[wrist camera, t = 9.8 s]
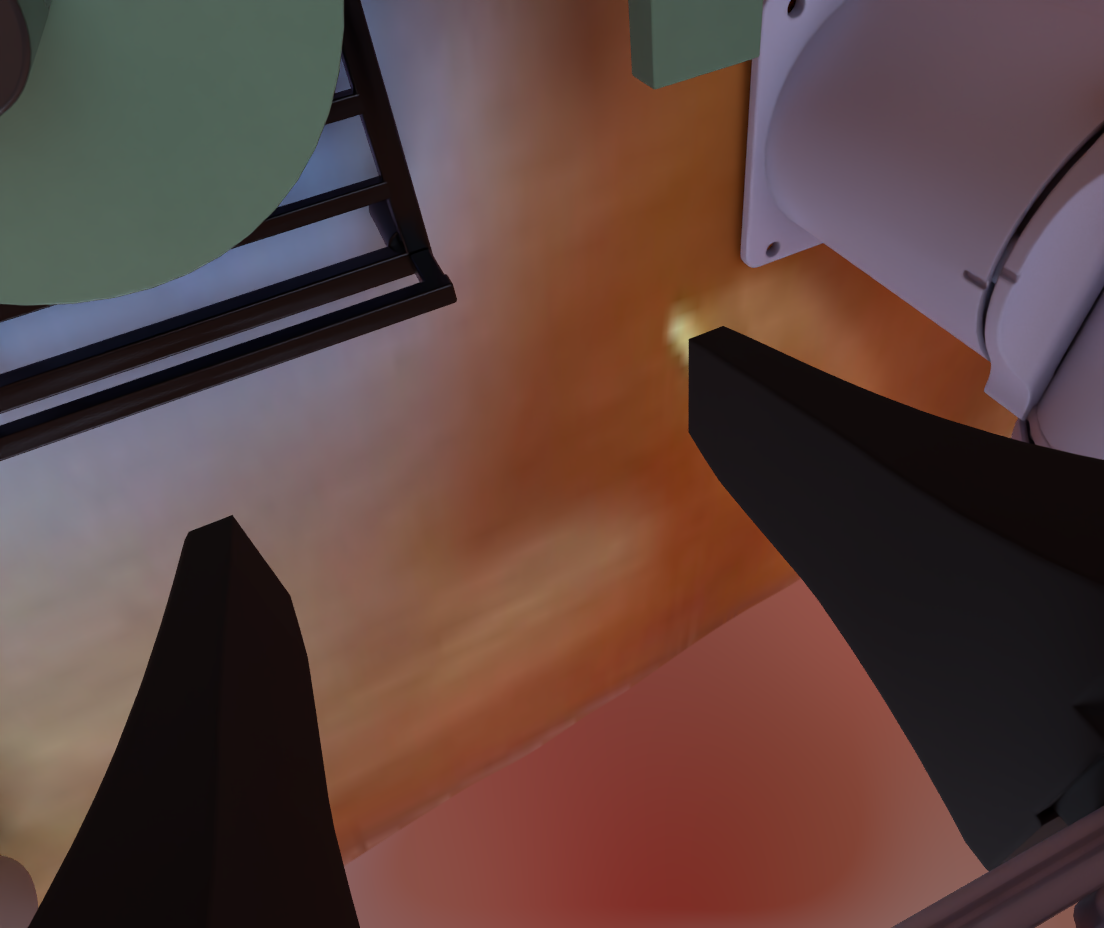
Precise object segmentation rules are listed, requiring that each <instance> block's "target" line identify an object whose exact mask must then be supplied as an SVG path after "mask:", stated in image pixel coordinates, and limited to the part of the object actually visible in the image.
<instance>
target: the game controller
mask: <svg viewBox="0 0 1104 928" xmlns="http://www.w3.org/2000/svg"><path fill="white" fill-rule="evenodd" d="M37 910H38V902H37V894H36V890H35V886H34V883H33V881H32V878H31V876H30V875H29V873H28V871H27V870H26V869H25V868H24V866H23V865H21V864H20V863H19V862H18V861H16V860H14V859H12V858H9V857H5V856H1V855H0V928H28V926H29V924H30V922H31V921H32V919H33V917H34V915H35V913H36V912H37Z"/></svg>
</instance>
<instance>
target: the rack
mask: <svg viewBox="0 0 1104 928" xmlns="http://www.w3.org/2000/svg"><path fill="white" fill-rule="evenodd" d="M341 58H342V61H343V65H344V68H345V71H346V74H347V77H348V80H349V83H350V87H351V89H348V90H344V91H341V92H338V93H334V96H333V100H332V104H331V108H330V112H329V115H328V118H327V120H326V123H325V125H326V124H330V123H333V122H336V121H340V120H343V119H346V118H350V117H353V116H357V115H360V118H361V121H362V124H363V128H364V131H365V134H366V137H367V140H368V143H369V146H370V150H371V153H372V156H373V159H374V162H375V165H376V168H377V172H378V175H379V176H377V177H374V178H371V179H368V180H365V181H361V182H358V183H355V184H352V185H349V186H345V187H342V188H339V189H336V190H333V191H329V192H326V193H323V194H320V195H317V196H313V197H310V198H307V199H304V200H301V201H297V202H294V203H291V204H288V205H284V206H281V207H278V208H276V209H275V210H274V211H273V212H272V213H271V214H270V215H269V216H268V217H267V218H266V219H265V220H264V221H263V222H262V223H261V224H260V225H259V226H258V227H257V228H256V229H255V230H254V231H253V232H252V233H251V234H250V235H249V236H247V237H246V238H245V239H243V240H242V241H241V242H239V243H238V244H236V245H235V246H234V247H232V248H231V249H233V248H236V247H239V246H242V245H245V244H249V243H252V242H255V241H258V240H261V239H264V238H267V237H271V236H274V235H277V234H280V233H283V232H286V231H289V230H293V229H296V228H299V227H302V226H305V225H308V224H311V223H315V222H318V221H321V220H324V219H327V218H330V217H333V216H337V215H340V214H343V213H346V212H349V211H352V210H355V209H359V208H362V207H365V206H368V205H369V212H370V215H371V217H372V219H373V221H374V223H375V225H376V227H377V229H378V230H379V232H380V234H381V236H382V238H383V240H384V242H385V244H386V246H387V247H385V248H382V249H379V250H376V251H373V252H370V253H367V254H364V255H361V256H358V257H355V258H352V259H349V260H346V261H343V262H340V263H337V264H334V265H330V266H327V267H324V268H321V269H318V270H315V271H312V272H309V273H306V274H303V275H300V276H297V277H294V278H291V279H288V280H285V281H282V282H279V283H276V284H273V285H270V286H267V287H264V288H261V289H258V290H255V291H252V292H249V293H246V294H242V295H239V296H236V297H233V298H230V299H227V300H224V301H221V302H218V303H215V304H212V305H209V306H206V307H203V308H200V309H197V310H194V311H191V312H188V313H185V314H182V315H179V316H176V317H173V318H170V319H167V320H164V321H161V322H158V323H155V324H151V325H148V326H145V327H142V328H139V329H136V330H133V331H130V332H127V333H124V334H121V335H118V336H115V337H112V338H109V339H106V340H103V341H100V342H97V343H94V344H91V345H88V346H85V347H82V348H79V349H76V350H73V351H70V352H67V353H63V354H60V355H57V356H54V357H51V358H48V359H45V360H42V361H39V362H36V363H33V364H30V365H27V366H24V367H21V368H18V369H15V370H12V371H9V372H6V373H3V374H0V414H1V413H4V412H7V411H10V410H13V409H16V408H19V407H22V406H25V405H28V404H31V403H33V402H36V401H39V400H42V399H45V398H48V397H51V396H54V395H57V394H60V393H63V392H66V391H69V390H72V389H75V388H78V387H81V386H84V385H87V384H90V383H93V382H96V381H99V380H101V379H104V378H107V377H110V376H113V375H116V374H119V373H122V372H125V371H128V370H131V369H134V368H137V367H140V366H143V365H146V364H149V363H152V362H155V361H158V360H161V359H164V358H167V357H169V356H172V355H175V354H178V353H181V352H184V351H187V350H190V349H193V348H196V347H199V346H202V345H205V344H208V343H211V342H214V341H217V340H220V339H223V338H226V337H229V336H232V335H235V334H237V333H240V332H243V331H246V330H249V329H252V328H255V327H258V326H261V325H264V324H267V323H270V322H273V321H276V320H279V319H282V318H285V317H288V316H291V315H294V314H297V313H300V312H302V311H305V310H308V309H311V308H314V307H317V306H320V305H323V304H326V303H329V302H332V301H335V300H338V299H341V298H344V297H347V296H350V295H353V294H356V293H359V292H362V291H365V290H368V289H370V288H373V287H376V286H379V285H382V284H385V283H388V282H391V281H394V280H397V279H400V278H403V277H406V276H409V275H412V274H416V276H417V278H418V280H419V282H420V283H417V284H414V285H411V286H408V287H405V288H403V289H400V290H397V291H394V292H391V293H388V294H385V295H382V296H379V297H376V298H373V299H370V300H367V301H364V302H361V303H359V304H356V305H353V306H350V307H347V308H344V309H341V310H338V311H335V312H332V313H329V314H326V315H323V316H320V317H317V318H315V319H312V320H309V321H306V322H303V323H300V324H297V325H294V326H291V327H288V328H285V329H282V330H279V331H276V332H273V333H271V334H268V335H265V336H262V337H259V338H256V339H253V340H250V341H247V342H244V343H241V344H238V345H235V346H232V347H229V348H227V349H224V350H221V351H218V352H215V353H212V354H209V355H206V356H203V357H200V358H197V359H194V360H191V361H188V362H185V363H183V364H180V365H177V366H174V367H171V368H168V369H165V370H162V371H159V372H156V373H153V374H150V375H147V376H144V377H141V378H139V379H136V380H133V381H130V382H127V383H124V384H121V385H118V386H115V387H112V388H109V389H106V390H103V391H100V392H97V393H95V394H92V395H89V396H86V397H83V398H80V399H77V400H74V401H71V402H68V403H65V404H62V405H59V406H56V407H53V408H51V409H48V410H45V411H42V412H39V413H36V414H33V415H30V416H27V417H24V418H21V419H18V420H15V421H12V422H9V423H7V424H4V425H1V426H0V461H2V460H5V459H8V458H11V457H14V456H16V455H19V454H22V453H25V452H28V451H31V450H34V449H36V448H39V447H42V446H45V445H48V444H51V443H54V442H57V441H59V440H62V439H65V438H68V437H71V436H74V435H77V434H80V433H82V432H85V431H88V430H91V429H94V428H97V427H100V426H102V425H105V424H108V423H111V422H114V421H117V420H120V419H123V418H125V417H128V416H131V415H134V414H137V413H140V412H143V411H145V410H148V409H151V408H154V407H157V406H160V405H163V404H166V403H168V402H171V401H174V400H177V399H180V398H183V397H186V396H188V395H191V394H194V393H197V392H200V391H203V390H206V389H209V388H211V387H214V386H217V385H220V384H223V383H226V382H229V381H232V380H234V379H237V378H240V377H243V376H246V375H249V374H252V373H254V372H257V371H260V370H263V369H266V368H269V367H272V366H275V365H277V364H280V363H283V362H286V361H289V360H292V359H295V358H297V357H300V356H303V355H306V354H309V353H312V352H315V351H318V350H320V349H323V348H326V347H329V346H332V345H335V344H338V343H340V342H343V341H346V340H349V339H352V338H355V337H358V336H361V335H363V334H366V333H369V332H372V331H375V330H378V329H381V328H384V327H386V326H389V325H392V324H395V323H398V322H401V321H404V320H406V319H409V318H412V317H415V316H418V315H421V314H424V313H427V312H429V311H432V310H435V309H438V308H441V307H444V306H447V305H449V304H452V303H455V302H457V298H456V294H455V290H454V287H453V284H452V282H451V280H450V279H449V277H448V276H447V275H446V274H444V273H443V271H442V270H441V268H440V266H439V265H438V263H437V261H436V260H435V258H434V256H433V254H432V250H431V247H430V243H429V240H428V236H427V232H426V229H425V225H424V222H423V218H422V215H421V211H420V208H419V204H418V201H417V197H416V194H415V190H414V187H413V183H412V180H411V176H410V173H409V169H408V166H407V162H406V159H405V155H404V152H403V148H402V145H401V141H400V138H399V134H398V131H397V127H396V124H395V120H394V117H393V113H392V110H391V106H390V103H389V99H388V96H387V92H386V89H385V85H384V82H383V78H382V75H381V71H380V68H379V64H378V61H377V57H376V54H375V50H374V47H373V43H372V39H371V36H370V32H369V29H368V25H367V22H366V18H365V15H364V11H363V8H362V4H361V1H360V0H344V34H343V43H342V52H341ZM54 305H57V304H53V305H11V304H0V322H3V321H7V320H10V319H13V318H16V317H19V316H22V315H25V314H29V313H32V312H35V311H38V310H41V309H44V308H47V307H51V306H54Z"/></svg>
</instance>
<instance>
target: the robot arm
mask: <svg viewBox="0 0 1104 928" xmlns="http://www.w3.org/2000/svg"><path fill="white" fill-rule="evenodd" d="M790 1H791V0H763V11H762V26H761V41H760V55H759V57H757V58H754V59H752V68H751V85H750V102H749V118H748V135H747V152H746V169H745V186H744V203H743V220H742V236H741V253H740V254H741V259H742V261H743V262H744V263H745V264H747V265H748V266H749V267H752V268H755V267H759V266H762V265H765V264H767V263H770V262H773V261H775V260H778V259H781V258H784V257H786V256H789V255H792V254H794V253H797V252H800V251H803V250H805V249H808V248H811V247H814V246H816V245H819V244H822V243H824V244H826V245H827V246H828V247H830V248H831V249H833V250H834V251H835V252H837V253H838V254H840V255H841V256H842V257H844V258H845V259H847V260H848V261H849V262H851V263H852V264H854V265H855V266H856V267H858V268H859V269H861V270H862V271H863V272H865V273H866V274H868V275H869V276H871V277H872V278H873V279H875V280H876V281H878V282H879V283H880V284H882V285H883V286H885V287H886V288H887V289H889V290H890V291H892V292H893V293H894V294H896V295H897V296H899V297H900V298H901V299H903V300H904V301H906V302H907V303H908V304H910V305H911V306H913V307H914V308H915V309H917V310H918V311H920V312H921V313H922V314H924V315H925V316H927V317H928V318H929V319H931V320H932V321H934V322H935V323H936V324H938V325H939V326H941V327H942V328H943V329H945V330H946V331H948V332H949V333H950V334H952V335H953V336H955V337H956V338H958V339H959V340H960V341H962V342H963V343H965V344H966V345H967V346H969V347H970V348H972V349H973V350H974V351H976V352H977V353H979V354H980V355H981V356H983V357H984V358H986V359H987V360H988V361H990V362H991V372H990V376H989V379H988V381H987V383H986V386H985V389H984V392H985V393H986V394H988V395H989V396H990V397H992V398H993V399H994V400H996V401H997V402H998V403H1000V404H1001V405H1002V406H1004V407H1005V408H1006V409H1008V410H1009V411H1010V412H1012V413H1013V414H1014V415H1016V416H1017V417H1018V420H1017V421H1016V423H1015V426H1014V429H1013V433H1012V437H1011V438H1007V437H1004V436H1000V435H996V434H993V433H990V432H986V431H983V430H980V429H976V428H973V427H970V426H967V425H963V424H960V423H957V422H953V421H950V420H947V419H944V418H941V417H938V416H935V415H932V414H929V413H926V412H923V411H920V410H918V409H915V408H912V407H910V406H907V405H904V404H902V403H899V402H896V401H894V400H891V399H889V398H886V397H883V396H881V395H878V394H876V393H873V392H871V391H868V390H866V389H863V388H861V387H858V386H856V385H854V384H851V383H849V382H847V381H844V380H842V379H840V378H837V377H835V376H833V375H830V374H828V373H826V372H824V371H821V370H819V369H817V368H815V367H812V366H810V365H808V364H806V363H804V362H801V361H799V360H797V359H795V358H793V357H791V356H788V355H786V354H784V353H782V352H780V351H778V350H775V349H773V348H771V347H769V346H767V345H765V344H762V343H760V342H758V341H756V340H754V339H752V338H749V337H747V336H745V335H743V334H740V333H738V332H736V331H734V330H731V329H729V328H727V327H724V326H722V327H719V328H717V329H714V330H712V331H709V332H706V333H704V334H701V335H699V336H696V337H693V338H691V339H689V434H690V435H691V437H692V439H693V440H694V442H695V443H696V445H697V447H698V448H699V450H700V452H701V453H702V455H703V456H704V458H705V460H706V461H707V463H708V464H709V466H710V467H711V469H712V470H713V472H714V473H715V475H716V476H717V478H718V480H719V481H720V482H721V484H722V485H723V486H724V487H725V488H726V490H727V491H728V492H729V493H730V495H731V496H732V497H733V498H734V499H735V501H736V502H737V503H738V504H739V505H740V507H741V508H742V509H743V510H744V511H745V513H746V514H747V515H748V516H749V517H750V518H751V520H752V521H753V522H754V523H755V524H756V526H757V527H758V528H759V529H760V530H761V531H762V533H763V534H764V535H765V536H766V537H767V539H768V540H769V541H770V542H771V543H772V544H773V546H774V547H775V548H776V549H777V550H778V551H779V553H780V554H781V555H782V556H783V557H784V559H785V560H786V561H787V562H788V563H789V564H790V566H791V567H792V568H793V569H794V570H795V572H796V573H797V574H798V575H799V576H800V577H801V579H802V580H803V581H804V582H805V584H806V585H807V586H808V587H809V589H810V590H811V591H812V593H813V594H814V595H815V597H816V598H817V599H818V600H819V602H820V603H821V605H822V606H823V608H824V609H825V611H826V612H827V614H828V615H829V616H830V618H831V619H832V621H833V622H834V624H835V625H836V627H837V628H838V630H839V631H840V633H841V634H842V636H843V637H844V639H845V640H846V642H847V643H848V644H849V646H850V647H851V649H852V650H853V652H854V654H855V655H856V657H857V658H858V660H859V661H860V663H861V664H862V666H863V667H864V669H865V670H866V672H867V674H868V675H869V677H870V678H871V680H872V682H873V683H874V684H875V686H876V688H877V689H878V691H879V692H880V694H881V695H882V697H883V699H884V700H885V702H886V704H887V705H888V707H889V709H890V710H891V712H892V714H893V715H894V717H895V719H896V720H897V722H898V724H899V725H900V727H901V729H902V730H903V732H904V734H905V735H906V737H907V738H908V740H909V742H910V743H911V745H912V747H913V748H914V750H915V752H916V753H917V755H918V757H919V759H920V760H921V762H922V764H923V766H924V768H925V769H926V771H927V773H928V775H929V777H930V778H931V780H932V782H933V784H934V785H935V787H936V789H937V791H938V793H939V794H940V796H941V798H942V800H943V801H944V803H945V805H946V807H947V808H948V810H949V812H950V814H951V816H952V818H953V820H954V822H955V823H956V825H957V827H958V829H959V831H960V833H961V835H962V837H963V839H964V841H965V842H966V843H967V845H968V846H969V847H970V849H971V850H972V851H973V853H974V854H975V855H976V856H977V858H978V859H979V860H980V862H981V863H982V864H983V866H984V867H985V868H986V869H987V870H988V871H989V872H988V873H986V874H984V875H982V876H981V877H979V878H977V879H975V880H974V881H972V882H970V883H968V884H967V885H965V886H963V887H961V888H960V889H958V890H956V891H954V892H953V893H951V894H949V895H947V896H946V897H944V898H942V899H941V900H939V901H937V902H935V903H934V904H932V905H930V906H929V907H927V908H925V909H923V910H921V911H920V912H918V913H916V914H914V915H913V916H911V917H909V918H907V919H906V920H904V921H902V922H900V923H899V924H897V925H895V926H893V927H892V928H1035V927H1037V926H1039V925H1040V924H1042V923H1044V922H1045V921H1047V920H1049V919H1050V918H1052V917H1054V916H1055V915H1057V914H1058V913H1060V912H1062V911H1063V910H1065V909H1067V908H1068V907H1070V906H1072V905H1074V904H1075V903H1077V902H1078V903H1077V905H1075V908H1074V915H1073V916H1074V921H1075V924H1076V928H1104V0H796V3H795V6H794V8H793V9H792V11H791V12H789V13H788V10H787V9H788V5H789V2H790ZM771 243H773V244H772V246H771V247H770V249H768V250H767V248H768V246H769V245H770V244H771ZM28 928H360V926H359V922H358V919H357V915H356V911H355V907H354V904H353V900H352V896H351V893H350V889H349V885H348V881H347V877H346V873H345V869H344V865H343V861H342V857H341V853H340V849H339V845H338V841H337V838H336V834H335V830H334V825H333V819H332V814H331V809H330V804H329V798H328V792H327V785H326V778H325V771H324V764H323V757H322V750H321V743H320V736H319V729H318V723H317V716H316V709H315V702H314V695H313V689H312V682H311V675H310V669H309V663H308V657H307V653H306V649H305V646H304V642H303V638H302V635H301V631H300V627H299V624H298V620H297V617H296V614H295V610H294V607H293V603H292V600H291V596H290V595H289V593H288V592H287V590H286V589H285V588H284V586H283V585H282V583H281V582H280V581H279V579H278V578H277V576H276V575H275V574H274V572H273V571H272V570H271V568H270V567H269V565H268V564H267V563H266V561H265V560H264V558H263V557H262V556H261V554H260V553H259V551H258V550H257V549H256V547H255V546H254V545H253V543H252V542H251V540H250V539H249V538H248V536H247V535H246V533H245V532H244V531H243V529H242V528H241V526H240V525H239V524H238V522H237V521H236V519H235V518H234V517H233V515H231V516H229V517H226V518H224V519H221V520H218V521H216V522H213V523H211V524H208V525H205V526H203V527H200V528H198V529H195V530H192V531H190V532H189V533H188V535H187V537H186V539H185V541H184V545H183V548H182V552H181V556H180V559H179V563H178V567H177V570H176V574H175V578H174V581H173V585H172V588H171V592H170V595H169V599H168V602H167V606H166V609H165V612H164V616H163V619H162V622H161V626H160V629H159V632H158V635H157V638H156V641H155V644H154V647H153V650H152V653H151V656H150V659H149V662H148V665H147V668H146V671H145V674H144V677H143V680H142V683H141V686H140V688H139V691H138V694H137V696H136V699H135V701H134V704H133V707H132V709H131V712H130V714H129V717H128V720H127V722H126V725H125V727H124V730H123V732H122V735H121V738H120V740H119V743H118V745H117V748H116V750H115V753H114V755H113V757H112V760H111V762H110V764H109V767H108V769H107V771H106V774H105V776H104V778H103V781H102V783H101V785H100V787H99V789H98V792H97V794H96V796H95V798H94V800H93V802H92V805H91V807H90V809H89V811H88V813H87V815H86V817H85V819H84V821H83V823H82V825H81V828H80V830H79V832H78V834H77V836H76V838H75V840H74V842H73V844H72V846H71V848H70V850H69V851H68V853H67V855H66V857H65V859H64V861H63V863H62V865H61V867H60V869H59V870H58V872H57V874H56V876H55V878H54V880H53V882H52V884H51V886H50V887H49V889H48V891H47V893H46V895H45V897H44V899H43V901H42V903H41V904H40V906H39V908H38V910H37V912H36V913H35V915H34V917H33V919H32V921H31V922H30V924H29V926H28Z"/></svg>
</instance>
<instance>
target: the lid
mask: <svg viewBox="0 0 1104 928" xmlns="http://www.w3.org/2000/svg"><path fill="white" fill-rule="evenodd" d="M343 34H344V0H0V304H11V305H53V304H74V303H81V302H88V301H95V300H102V299H109V298H115V297H119V296H123V295H127V294H131V293H135V292H139V291H142V290H146V289H150V288H154V287H156V286H159V285H161V284H164V283H166V282H169V281H171V280H174V279H177V278H179V277H182V276H184V275H187V274H189V273H191V272H193V271H194V270H196V269H198V268H200V267H202V266H204V265H205V264H207V263H209V262H211V261H213V260H215V259H216V258H218V257H220V256H222V255H223V254H224V253H226V252H227V251H228V250H230V249H231V248H232V247H234V246H235V245H236V244H238V243H239V242H241V241H242V240H243V239H245V238H246V237H247V236H249V235H250V234H251V233H252V232H253V231H254V230H255V229H256V228H257V227H258V226H259V225H260V224H261V223H262V222H263V221H264V220H265V219H266V218H267V217H268V216H269V215H270V214H271V213H272V212H273V211H274V210H275V209H276V208H277V207H278V205H279V204H280V203H281V202H282V200H283V199H284V198H285V196H286V195H287V194H288V192H289V191H290V190H291V188H292V187H293V186H294V185H295V183H296V182H297V180H298V179H299V177H300V175H301V173H302V172H303V170H304V168H305V166H306V164H307V163H308V161H309V159H310V157H311V156H312V154H313V152H314V150H315V148H316V146H317V143H318V141H319V138H320V135H321V133H322V130H323V128H324V125H325V123H326V120H327V118H328V115H329V112H330V108H331V104H332V100H333V96H334V92H335V88H336V84H337V79H338V75H339V70H340V61H341V52H342V43H343Z"/></svg>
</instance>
